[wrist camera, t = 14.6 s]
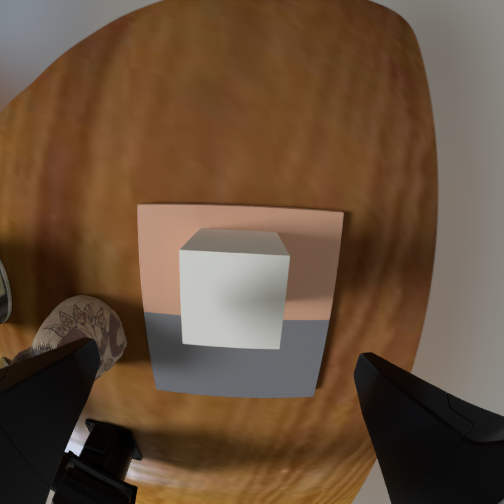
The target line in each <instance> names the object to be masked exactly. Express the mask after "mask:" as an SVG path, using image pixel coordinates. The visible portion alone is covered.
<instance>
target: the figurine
mask: <svg viewBox="0 0 504 504" xmlns="http://www.w3.org/2000/svg"><path fill="white" fill-rule="evenodd" d="M83 337H88V338H93V339H95V340H96V342H97V346H98V350H99V354H100V358H101V363H100V366H99V369H98V372H97V374H96V377H95V380H96V379H98V378H99V377H100V376H101V375H102V374H103V373H104V372H106V371H108V370H109V369H110V368H111V367H112V366H113V365H114V364H115V362H116V361H117V360H118V359H119V358H120V357H122V355H123V351H124V349H125V348H126V346H127V340H126V337H125V332H124V329H123V326H122V322H121V320H120V318H119V316H118V315H117V313H116V312H115V311H114V310H113V309H112V308H111V307H110V306H108V305H107V304H106V303H104V302H103V301H101V300H100V299H97V298H95V297H90V296H86V295H78V296H74V297H71V298H68V299H66V300H64V301H63V302H62V303H60V304H59V305H58V306H57V307H56V308H55V309H54V310H53V311H52V312H51V314H50V315H49V316H48V317H47V318H46V319H45V321H44V322H43V324H42V325H41V327H40V328H39V330H38V332H37V334H36V336H35V338H34V340H33V343H32V346H31V347H30V348H28V349H26V350H24V351H21V352H19V353H18V354H17V355H16V357H15V358H14V359H13V361H12V362H11V365H12V364H15V363H17V362H20V361H23V360H25V359H28V358H31V357H33V356H36V355H39V354H41V353H44V352H47V351H49V350H52V349H55V348H57V347H60V346H62V345H65V344H68V343H70V342H73V341H75V340H78V339H81V338H83ZM95 380H94V381H95Z"/></svg>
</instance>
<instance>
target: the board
mask: <svg viewBox="0 0 504 504" xmlns="http://www.w3.org/2000/svg"><path fill="white" fill-rule="evenodd" d="M343 215H344V213H343V212H340V211H332V210H319V209H305V208H289V207H272V206H251V205H225V204H181V203H142V204H138V245H139V263H140V276H141V288H142V298H143V308H144V316H145V324H146V332H147V339H148V345H149V352H150V358H151V364H152V369H153V375H154V380H155V385H156V389H157V390H164V391H171V392H179V393H188V394H198V395H210V396H225V397H249V398H288V397H312V396H314V392H315V387H316V383H317V379H318V375H319V370H320V366H321V361H322V356H323V351H324V346H325V341H326V336H327V331H328V326H329V320H330V314H331V308H332V302H333V296H334V290H335V283H336V276H337V268H338V261H339V253H340V244H341V235H342V225H343ZM200 228H210V229H230V230H248V231H266V232H277V234H278V235H279V237H280V239H281V241H282V242H283V244H284V246H285V248H286V250H287V251H288V253H289V255H290V261H289V271H288V280H287V290H286V299H285V308H284V316H283V324H282V333H281V341H280V348H279V349H249V348H230V347H215V346H202V345H191V344H183V340H182V324H181V303H180V267H179V250H180V249H181V248H182V247H183V246H184V245H185V244H186V242H187V241H188V240H189V239H190V238H191V237H192V236H193V235H194V234H195V233H196V232H197V231H198V230H199V229H200Z"/></svg>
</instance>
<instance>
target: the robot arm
mask: <svg viewBox="0 0 504 504" xmlns="http://www.w3.org/2000/svg"><path fill="white" fill-rule="evenodd" d="M100 363H101V358H100V354H99V350H98V346H97V342H96V340H95V339H93V338H88V337H83V338H81V339H78V340H75V341H73V342H70V343H68V344H65V345H62V346H60V347H57V348H55V349H52V350H49V351H47V352H44V353H41V354H39V355H36V356H33V357H31V358H28V359H25V360H23V361H20V362H17V363H15V364H12V365H10V366H6V367H4V368H1V369H0V504H46V501H47V498H48V495H49V491H50V490H52V491H54V492H55V494H54V497H53V499H52V503H51V504H135V501H136V494H137V488H138V487H137V486H134V485H131V484H129V483H126V482H124V480H125V477H126V474H127V471H128V468H129V465H130V463H131V460H132V459H135V460H139V461H141V460H142V455H141V453H140V450H139V448H138V446H137V443H136V441H135V438H134V436H133V433H132V432H131V431H129V430H125V429H121V428H117V427H113V426H109V425H106V424H102V423H99V422H95V421H92V420H89V419H86V421H85V424H86V426H87V428H88V430H89V432H90V434H89V436H88V438H87V440H86V442H85V444H84V447H83V449H82V451H81V453H80V455H79V457H78V456H77V455H75V454H74V453H73V452H72V451H70V450H69V452H68V453H66V452H64V451H65V449H66V446H67V444H68V442H69V439H70V437H71V435H72V432H73V430H74V428H75V425H76V423H77V421H78V419H79V416H80V414H81V412H82V410H83V408H84V406H85V403H86V401H87V399H88V397H89V394H90V392H91V389H92V386H93V383H94V380H95V377H96V374H97V372H98V369H99V366H100ZM354 380H355V385H356V389H357V393H358V398H359V402H360V407H361V411H362V414H363V418H364V420H365V423H366V426H367V429H368V432H369V435H370V438H371V441H372V444H373V447H374V450H375V453H376V456H377V459H378V462H379V465H380V468H381V471H382V474H383V477H384V481H385V484H386V487H387V491H388V494H389V497H390V501H391V504H504V416H501V415H499V414H496V413H493V412H490V411H488V410H485V409H483V408H480V407H478V406H475V405H473V404H470V403H468V402H466V401H464V400H461V399H459V398H457V397H455V396H453V395H451V394H449V393H446V392H445V391H443V390H441V389H440V388H438V387H436V386H434V385H432V384H430V383H428V382H426V381H424V380H422V379H420V378H418V377H416V376H415V375H413V374H411V373H409V372H407V371H405V370H403V369H402V368H400V367H398V366H396V365H394V364H392V363H390V362H389V361H387V360H385V359H383V358H381V357H379V356H378V355H376V354H374V353H372V352H368V353H361V354H360V355H359V357H358V361H357V364H356V368H355V371H354Z"/></svg>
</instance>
